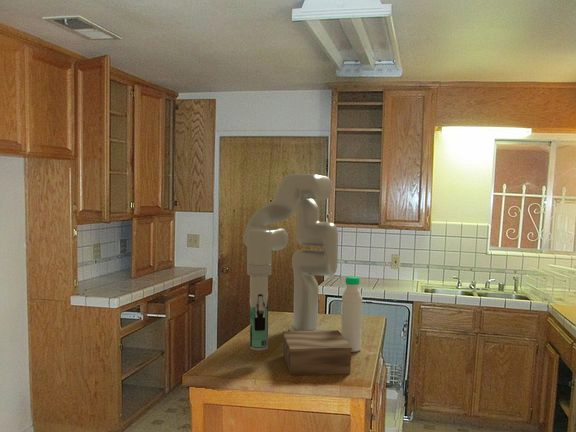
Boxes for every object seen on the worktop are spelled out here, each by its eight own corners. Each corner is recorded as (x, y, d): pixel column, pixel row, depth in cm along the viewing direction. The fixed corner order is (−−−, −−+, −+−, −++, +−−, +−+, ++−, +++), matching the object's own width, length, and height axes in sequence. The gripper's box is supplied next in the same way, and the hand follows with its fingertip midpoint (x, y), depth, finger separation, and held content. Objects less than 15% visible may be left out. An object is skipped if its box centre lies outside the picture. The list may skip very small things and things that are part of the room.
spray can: (270, 345, 158) (270, 282, 156) (263, 351, 153) (264, 286, 151) (254, 343, 160) (254, 281, 158) (247, 349, 154) (247, 284, 153)
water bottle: (356, 353, 169) (357, 279, 168) (337, 350, 173) (338, 277, 171) (364, 348, 175) (366, 276, 174) (346, 344, 179) (347, 274, 177)
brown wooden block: (282, 355, 166) (282, 331, 166) (337, 353, 168) (338, 330, 168) (289, 375, 148) (290, 348, 147) (351, 374, 150) (352, 347, 150)
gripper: (245, 264, 162) (245, 320, 164) (248, 274, 146) (248, 336, 147) (269, 264, 163) (268, 319, 165) (274, 274, 146) (273, 335, 148)
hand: (259, 326), depth 156 cm, fingers closed on spray can, 5 cm apart
